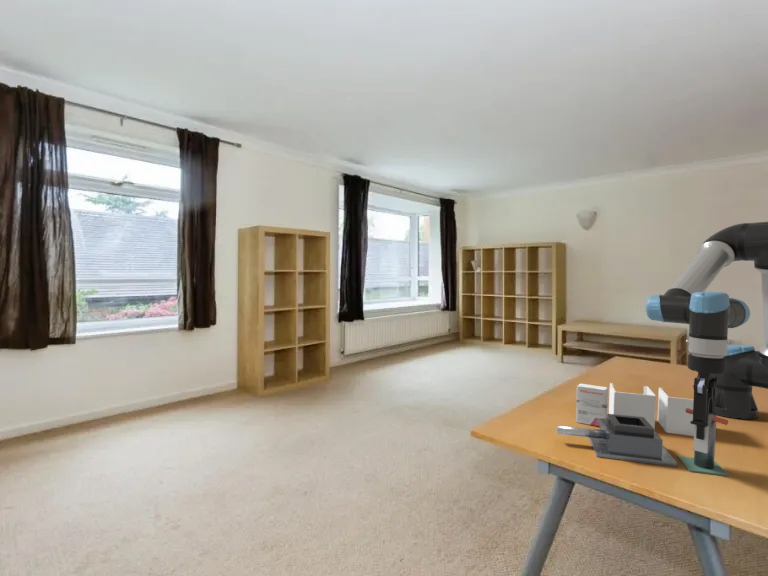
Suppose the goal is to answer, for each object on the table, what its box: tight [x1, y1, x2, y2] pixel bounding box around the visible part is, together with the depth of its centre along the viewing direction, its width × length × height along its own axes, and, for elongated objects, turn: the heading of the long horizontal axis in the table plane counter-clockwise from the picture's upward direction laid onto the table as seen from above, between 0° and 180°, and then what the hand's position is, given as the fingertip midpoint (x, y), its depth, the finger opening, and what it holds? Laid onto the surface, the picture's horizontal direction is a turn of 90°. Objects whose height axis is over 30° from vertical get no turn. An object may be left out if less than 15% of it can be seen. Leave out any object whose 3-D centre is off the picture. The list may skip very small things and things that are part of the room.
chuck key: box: [685, 408, 729, 469], centre depth 104 cm, size 4×9×13 cm, turn 22°
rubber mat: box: [676, 455, 730, 478], centre depth 105 cm, size 8×8×1 cm
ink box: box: [575, 383, 609, 428], centre depth 133 cm, size 9×5×12 cm, turn 55°
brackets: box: [608, 382, 694, 437], centre depth 132 cm, size 25×11×11 cm, turn 69°
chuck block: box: [556, 413, 678, 467], centre depth 115 cm, size 27×14×8 cm, turn 73°
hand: (702, 447), depth 104 cm, fingers open, 5 cm apart
